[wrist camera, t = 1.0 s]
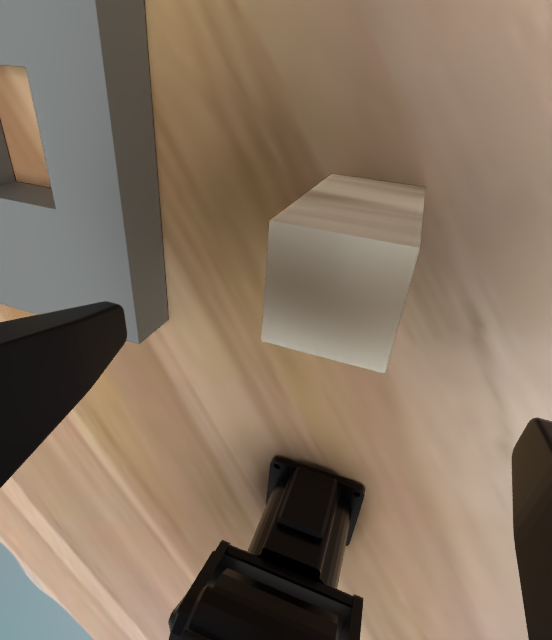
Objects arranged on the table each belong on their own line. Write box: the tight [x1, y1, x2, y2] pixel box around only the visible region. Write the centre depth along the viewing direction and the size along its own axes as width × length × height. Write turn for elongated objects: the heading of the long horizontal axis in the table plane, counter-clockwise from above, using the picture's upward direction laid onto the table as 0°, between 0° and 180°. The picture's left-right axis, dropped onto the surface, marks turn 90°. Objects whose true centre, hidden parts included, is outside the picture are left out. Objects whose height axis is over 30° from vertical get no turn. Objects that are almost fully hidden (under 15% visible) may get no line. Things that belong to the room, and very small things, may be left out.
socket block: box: [0, 0, 169, 344], centre depth 20 cm, size 20×14×3 cm
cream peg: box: [261, 174, 426, 374], centre depth 15 cm, size 4×4×8 cm
